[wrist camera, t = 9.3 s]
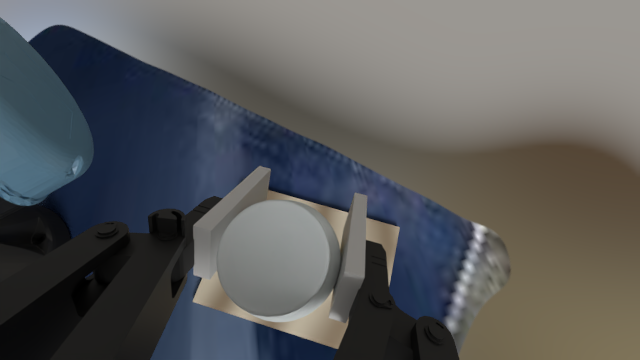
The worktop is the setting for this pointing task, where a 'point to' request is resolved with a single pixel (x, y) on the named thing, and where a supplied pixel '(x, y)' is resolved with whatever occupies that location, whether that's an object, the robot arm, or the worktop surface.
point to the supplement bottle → (278, 260)
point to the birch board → (318, 321)
